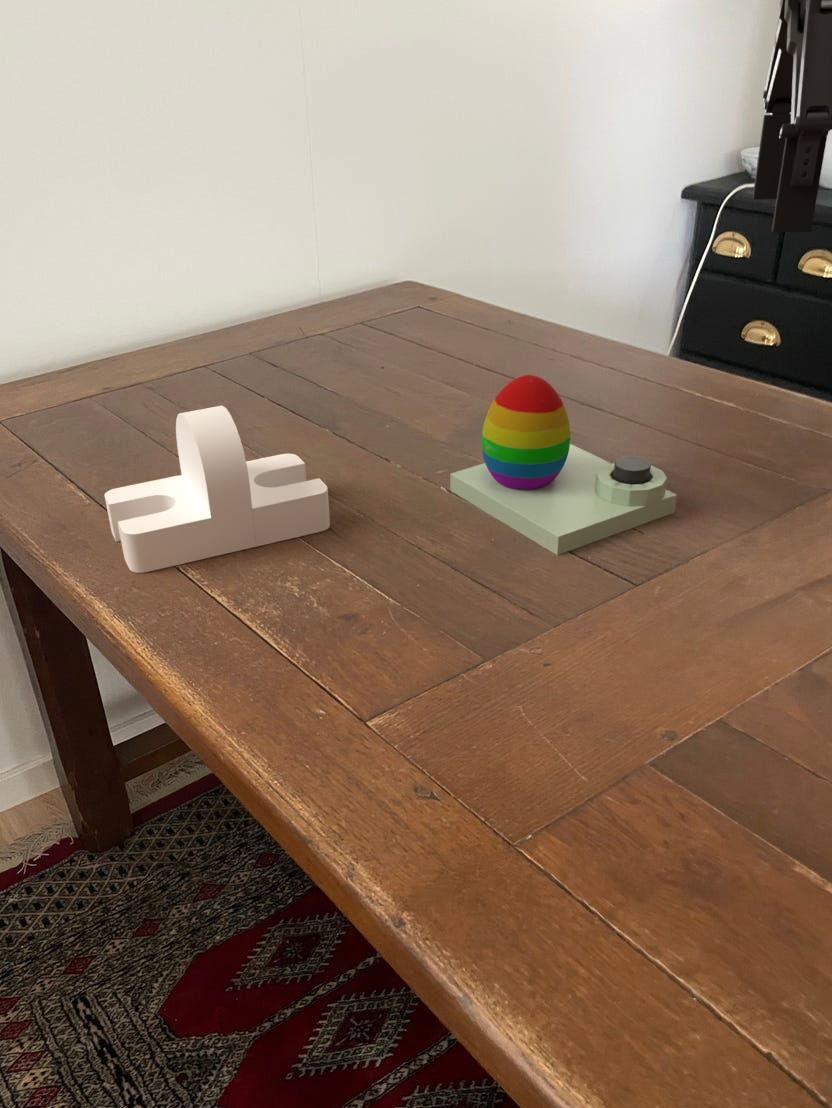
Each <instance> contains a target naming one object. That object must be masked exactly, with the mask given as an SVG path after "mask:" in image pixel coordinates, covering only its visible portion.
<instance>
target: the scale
mask: <svg viewBox="0 0 832 1108" xmlns="http://www.w3.org/2000/svg"><path fill="white" fill-rule="evenodd" d="M614 464H615V462H613V463H612V462H609V461H608V460H605V459H604V458H601V457H599V456H597V455H595V454H594V453H591V452H588V451H586V450H584V449H582V448H580V447H578V446H576V445H574V444H571V443H570V448H569V453H568V456H567V459H566V462H565V464H564V466H563V468H562V470H561V471H560V473H559V474H558V475H557V477H556V478H555V479H554V480H553V481H552V482H551V483H550V484H548V485H546V486H544V487H541V488H537V489H530V490H519V489H512V488H509V487H505V486H503V485H501V484H499V483H498V482H497V481H496V480H495V479H494V478H493V476H492V475H491V474H490V472H489V470H488V468H487V466H486V464H485V462H484V463H481V464H477V465H473V466H471V467H468V468H464V469H460V470H458V471H455V472H451V473H450V475H449V477H450V479H449V485H450V486H449V491H450V492H452V493H453V494H455V495H457V496H459V497H460V498H461V499H463V500H464V501H466V502H468V503H470V504H471V505H473V506H475V507H476V508H478V509H479V510H481V511H484V512H485V513H486V514H488V515H490V516H492V517H493V518H495V519H496V520H498V521H500V522H501V523H503V524H504V525H506V526H508V527H510V528H511V529H513V530H514V531H517V532H518V533H520V534H522V535H523V536H525V537H526V538H528V539H530V540H531V541H532V542H534V543H536V544H538V545H539V546H541V547H542V548H545V549H546V550H548V551H549V552H551V553H553V554H554V555H556V556H558V555H562V554H565V553H567V552H570V551H573V550H575V549H579V548H581V547H584V546H586V545H589V544H592V543H595V542H597V541H598V542H599V541H600V540H603V539H606V538H608V537H611V536H614V535H616V534H620V533H623V532H624V531H625V532H626V531H628V530H630V529H633V528H636V527H639V526H642V525H644V524H647V523H649V522H652V521H655V520H658V519H661V518H663V517H666V516H669V515H671V514H674V513H675V511H676V504H677V497H678V494H676V493H674V492H673V491H670V490H668V489H666V488H667V481H668V477H667V476H666V474H665V473H664V470H661V469H660V468H658V467H656V466H653V465H651V469H650V476H649V481H648V482H647V483H644V484H635V485H630V484H624V483H619V482H617V481H615V480H614V479H613V474H614Z"/></svg>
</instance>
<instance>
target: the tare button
mask: <svg viewBox="0 0 832 1108" xmlns="http://www.w3.org/2000/svg"><path fill="white" fill-rule="evenodd" d="M614 463H615V464H614V474H613V479H614V480H615V481H617V482H619V483H624V484H630V485H635V484H644V483H647V482H648V481H649V476H650V469H651V466H652V463H651V462H650V461H649V460H648V459H645V458H643V457H638V456H623V457H619V458H617V459H616V460H615V461H614Z"/></svg>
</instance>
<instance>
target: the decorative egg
mask: <svg viewBox="0 0 832 1108" xmlns="http://www.w3.org/2000/svg"><path fill="white" fill-rule="evenodd" d="M570 425H571V424H570V419H569V415H568V412H567V409H566V406H565V404H564V402H563V400H562V399H561V396H560V395H559V393H558V392H557V391H556V390H555V388H554V387H553V386H552V385H551V384H550V383H549V382H548V381H547V380H545V379H543V378H542V377H540V376H537V375H534V374H524V375H521V376H518V377H515V378H514V379H512V380H511V381H509V382H508V383H507V384H506V385H505V386H504V387H502V389H501V390H500V391H499V392H498V393H497V395H496V396H495V398H494V399H493V401H492V402H491V404H490V406H489V408H488V411H487V412H486V416H485V419H484V422H483V426H482V432H481V452H482V457H483V461H484V463H485V464H486V466H487V468H488V470H489V472H490V474H491V475H492V476H493V478H494V479H495V480H496V481H497V482H498V483H499V484H501V485H503V486H505V487H509V488H512V489H519V490H530V489H537V488H541V487H544V486H546V485H548V484H550V483H551V482H552V481H553V480H554V479H555V478H556V477H557V475H558V474H559V473H560V471H561V470H562V468H563V466H564V464H565V462H566V459H567V456H568V453H569V448H570V444H571V426H570Z"/></svg>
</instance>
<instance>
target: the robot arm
mask: <svg viewBox="0 0 832 1108" xmlns="http://www.w3.org/2000/svg"><path fill="white" fill-rule="evenodd" d="M761 97H762V101H763V109H764V115H763V119H762V127H761V134H760V140H759V147H758V157H757V161H756V162H757V163H756V170H755V178H754V185H753V192H752V199H753V200H755V201H756V200H775V206H774V212H773V218H772V219H773V220H772V225H771V232H772V233H805V232H806V233H811V232H812V228H813V221H814V217H815V210H816V203H817V197H818V192H819V186H820V181H821V174H822V169H823V164H824V163H823V162H824V157H825V152H826V146H827V139H828V135H829V133H830V131H832V0H780V1H779V15H778V21H777V25H776V30H775V36H774V40H773V46H772V50H771V56H770V61H769V67H768V71H767V76H766V81H765V86H764V90H763V91H762V96H761Z"/></svg>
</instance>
